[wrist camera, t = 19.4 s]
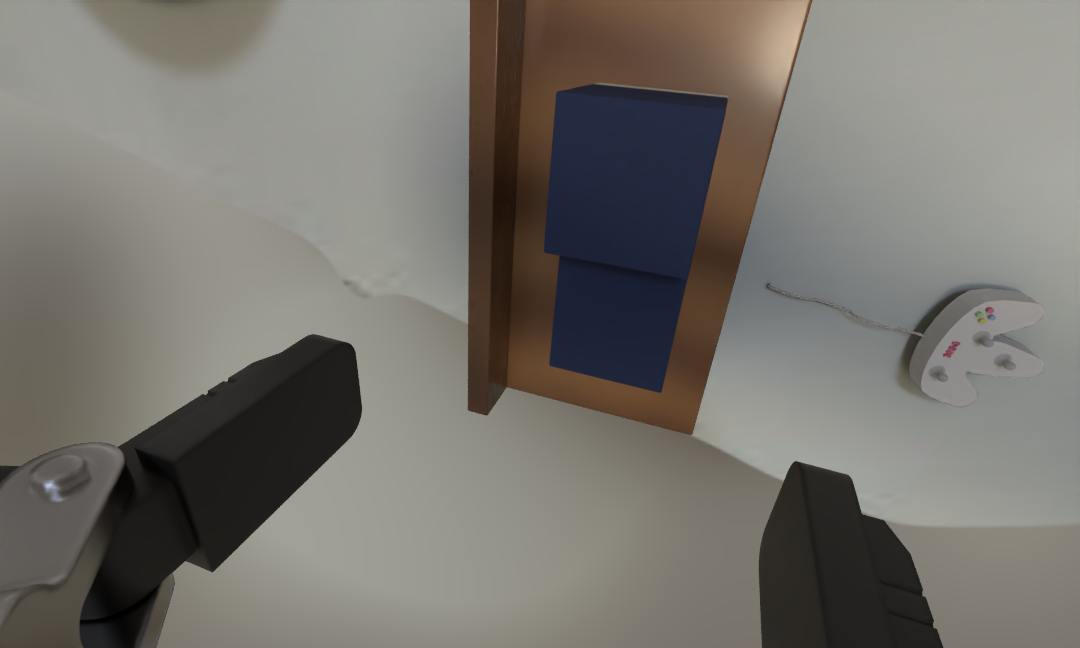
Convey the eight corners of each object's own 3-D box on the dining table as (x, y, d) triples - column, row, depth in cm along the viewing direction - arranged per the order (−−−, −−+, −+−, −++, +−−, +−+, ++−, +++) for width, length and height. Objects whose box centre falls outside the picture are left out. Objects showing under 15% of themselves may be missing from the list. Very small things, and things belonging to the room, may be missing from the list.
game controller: (1019, 394, 25) (1045, 427, 23) (760, 375, 29) (761, 402, 27) (1055, 284, 22) (1089, 309, 20) (767, 281, 26) (770, 301, 24)
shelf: (700, 358, 29) (687, 472, 21) (535, 320, 32) (467, 410, 24) (799, -20, 21) (841, -67, 13) (561, -31, 23) (469, -76, 15)
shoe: (598, 82, 18) (555, 91, 14) (728, 95, 17) (726, 109, 13) (570, 329, 23) (531, 394, 19) (670, 352, 22) (654, 426, 17)
